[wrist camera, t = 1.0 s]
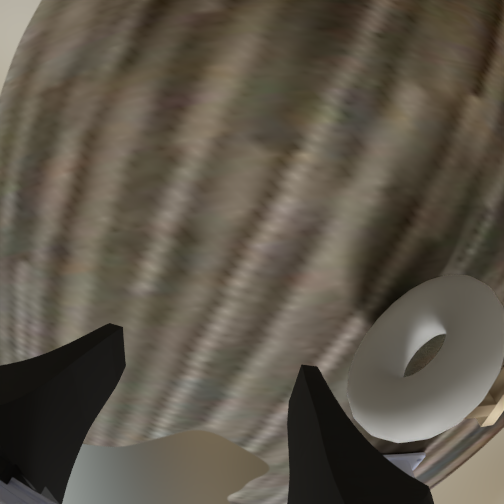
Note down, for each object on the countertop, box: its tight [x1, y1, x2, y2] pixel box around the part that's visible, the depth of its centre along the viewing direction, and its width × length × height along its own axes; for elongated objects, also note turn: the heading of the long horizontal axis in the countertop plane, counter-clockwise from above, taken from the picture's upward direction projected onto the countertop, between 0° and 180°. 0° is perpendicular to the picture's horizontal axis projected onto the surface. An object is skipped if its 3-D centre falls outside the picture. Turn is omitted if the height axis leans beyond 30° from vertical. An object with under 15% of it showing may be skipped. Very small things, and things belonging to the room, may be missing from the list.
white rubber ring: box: [347, 275, 504, 443], centre depth 14 cm, size 10×4×10 cm, turn 139°
